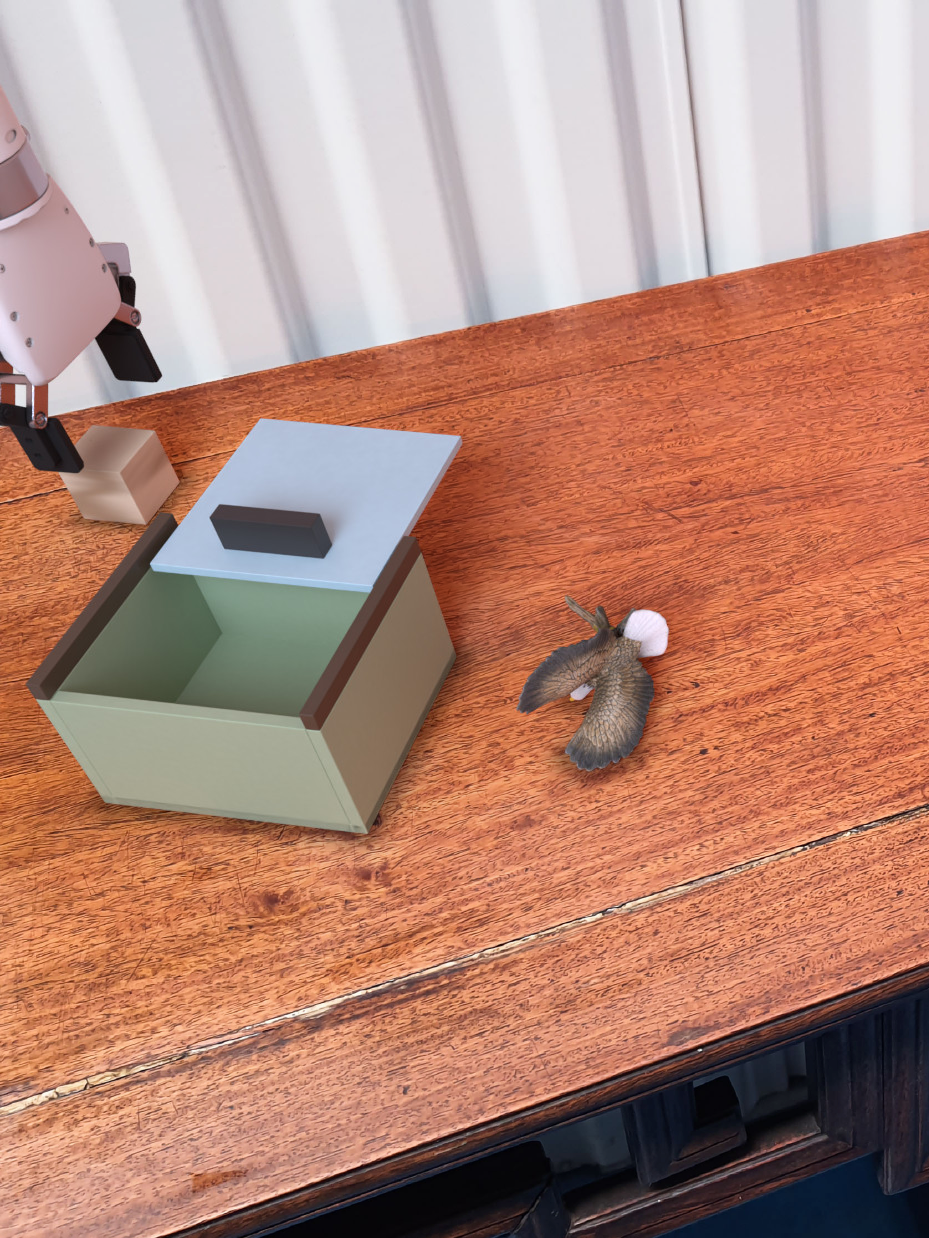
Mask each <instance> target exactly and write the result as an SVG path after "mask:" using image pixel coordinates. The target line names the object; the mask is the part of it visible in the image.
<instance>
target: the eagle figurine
mask: <svg viewBox="0 0 929 1238" xmlns="http://www.w3.org/2000/svg"><path fill="white" fill-rule="evenodd" d="M564 600H565V603H566V605H567V606H568V608H569V609H570V610H571V611H572V612H574V613H576V615H578V616H579V618H581V619H582V620H583V621H585V622H587V623H589V624H590V626H591V629H592V630H593V631H595V632H596V633H595V634H594V636H591V637H589V638H588V639H581V640H580V641H578V642H576V643H574V644H573V643H571V644H568V646H558V647H557V648H556V649H555V650H552V651H551V652H550V655H548V656H546V657H545V660H543V661H541V662H540V663H539V665H538V666H537V667H536V668H535V669H534V670H533V672H532V673H531V674H530V675H529V676H528V677H527V678H526V682H525V683H524V685H523V686H522V691H521V693H520V694H519V696H518V703H517V705H516V709H515V710H516V711H517V712H518V711H519V713H520V714H524V713H525V714H526V715H529V714H531V713H532V712H534V711H536V710H538V709H539V708H541V707H543V706H545V705H548V704H550V703H552V702H555V701H557V700H560V699H563V698H566V697H567V696H569V695H570V697H569V701H570V702H574V701H582V700H583V699H584V698H586V696H588V695H589V694H590V693H591V692H592V691H593V690H594V693H593V695H592V701H591V703H590V705H589V707H588V710H587V712H586V714H585V715H584V718H583V721H582V722H581V724H580V726H579V727H578V729H577V731H575V733H574V734H573V736H572V738H571V739H570V740H569V742H568V743H567V745H566V747H565V749H564V753H565V754H566V755H568V756H569V761H570V762H571V763H575V764H576V768H577V769H578V770H580V771H581V770H585V771H586V772H589V773H590V772H593V771H594V770H595V769H597V768H598V769H599V770H600V769H605V768H606V767H608V766H609V765H610V764H611V762H612V763H613V764H617V763H620V760H621V759H622V758H623V759H625V758H627V757H629V756H630V754H631V753H632V752H633V751H634V750H635V748H636V747H637V746H639V744H640V739H641V738H642V737H644V731H643V729H644V728H645V725H646V723H647V717H646V716H648V715H649V710H650V708H651V703H653V702H654V698H655V693H656V689H655V681H654V680H653V677H652V675H651V674H649V673H648V671H647V669H646V667H643V662H642V661H640V660H639V659H641V658H649V657H658V656H661V655H664V653H665V652H666V650H667V647H668V645H669V644H668V642H669V634H670V629H669V626H668V625H667V624H668V623H667V619H666V617H664V616H662V614H661V613H659V612H658V611H653V610H651V609H645V608H644V609H636V608H635V607H632V608H630V610H629V611H628V613H627V614H626V615H625V616H624V617H623V618H622V620H620V622H619V623H617V624H616V626H614V625H611V623H610V621H609V618H608V615H607V613H606V609H605V608H604V606H603V605H600V604H598V605H597V606H595V608H594V609H595V613H592V612H590V611H589V610H587V609H586V608H584V607H583V606H581V605H580V604H579V603H578V602H577V601H576V600H575V598H573V597H572V596H570V595H565V596H564Z"/></svg>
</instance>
